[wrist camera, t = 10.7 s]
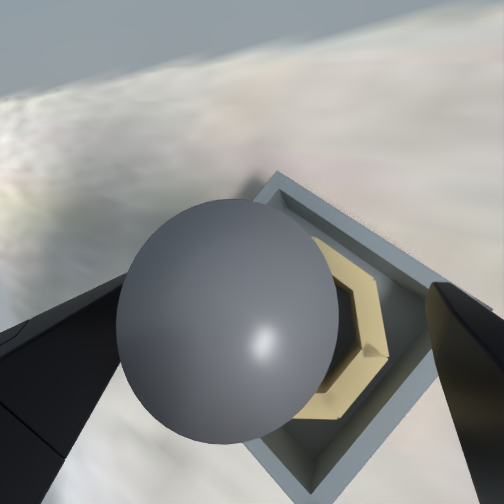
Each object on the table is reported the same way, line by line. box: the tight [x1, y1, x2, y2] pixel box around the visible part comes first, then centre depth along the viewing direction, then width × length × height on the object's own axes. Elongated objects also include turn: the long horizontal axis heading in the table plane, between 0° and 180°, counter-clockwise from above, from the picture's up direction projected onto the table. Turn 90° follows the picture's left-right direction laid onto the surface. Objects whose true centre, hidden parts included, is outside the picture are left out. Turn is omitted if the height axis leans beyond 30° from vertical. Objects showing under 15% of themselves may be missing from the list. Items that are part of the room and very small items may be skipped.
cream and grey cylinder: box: [116, 199, 339, 445], centre depth 11 cm, size 4×4×12 cm
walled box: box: [243, 171, 493, 504], centre depth 15 cm, size 12×12×4 cm
